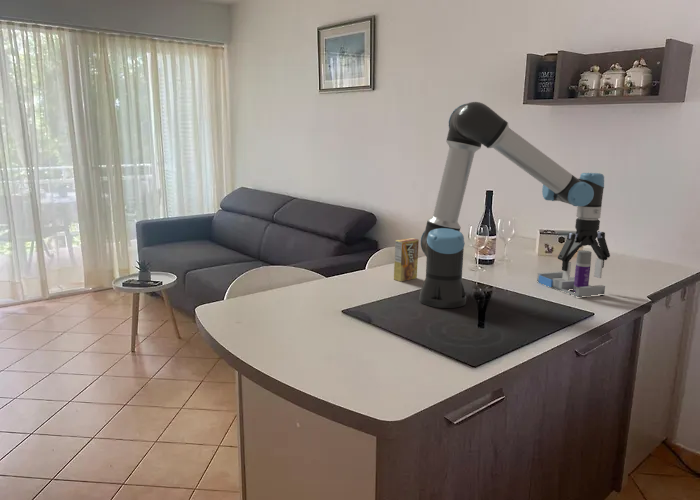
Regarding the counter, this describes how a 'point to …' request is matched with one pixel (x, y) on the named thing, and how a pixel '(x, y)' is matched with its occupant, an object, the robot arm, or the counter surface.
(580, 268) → the container
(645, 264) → the counter surface
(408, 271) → the candy box
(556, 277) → the grey and blue rack
